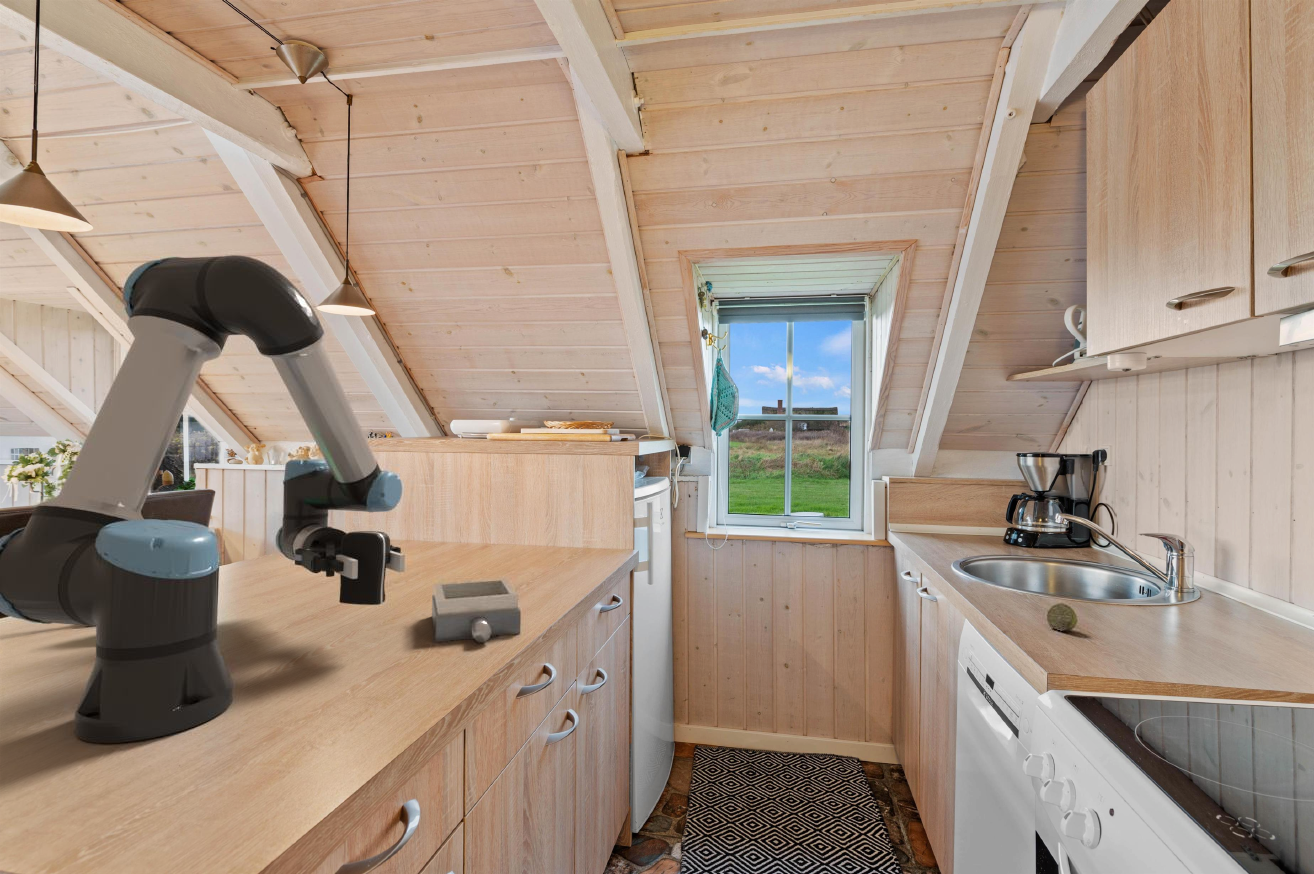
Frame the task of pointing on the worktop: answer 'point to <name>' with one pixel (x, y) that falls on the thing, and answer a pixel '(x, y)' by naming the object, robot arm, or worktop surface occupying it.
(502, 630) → the grey drawer box
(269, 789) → the worktop surface
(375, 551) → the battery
